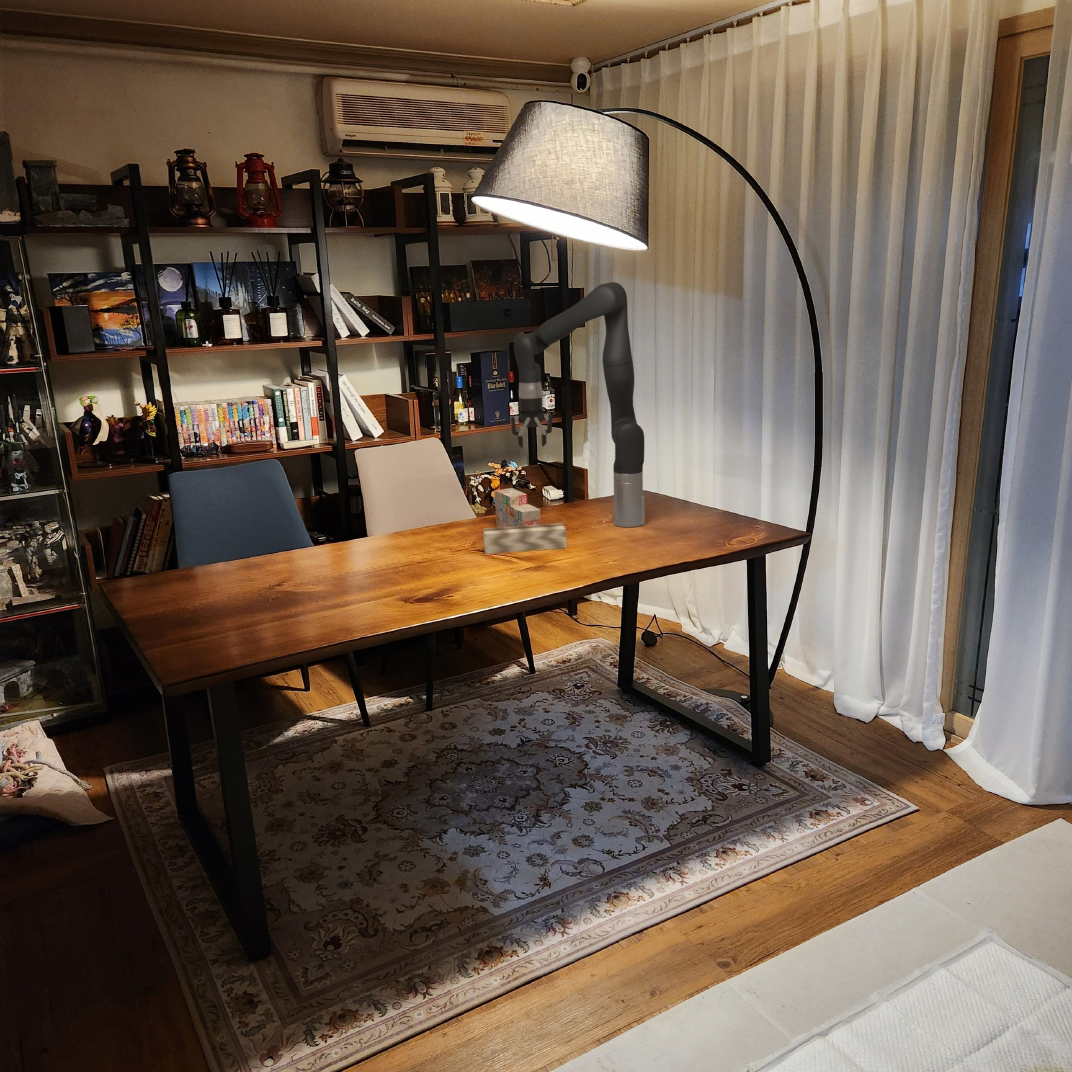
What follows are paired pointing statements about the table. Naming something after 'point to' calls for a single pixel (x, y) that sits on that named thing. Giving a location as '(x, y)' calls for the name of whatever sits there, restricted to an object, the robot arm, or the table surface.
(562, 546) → the grey zigzag-patterned beam
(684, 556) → the table surface
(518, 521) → the stack of blocks
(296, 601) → the table surface
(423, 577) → the table surface
